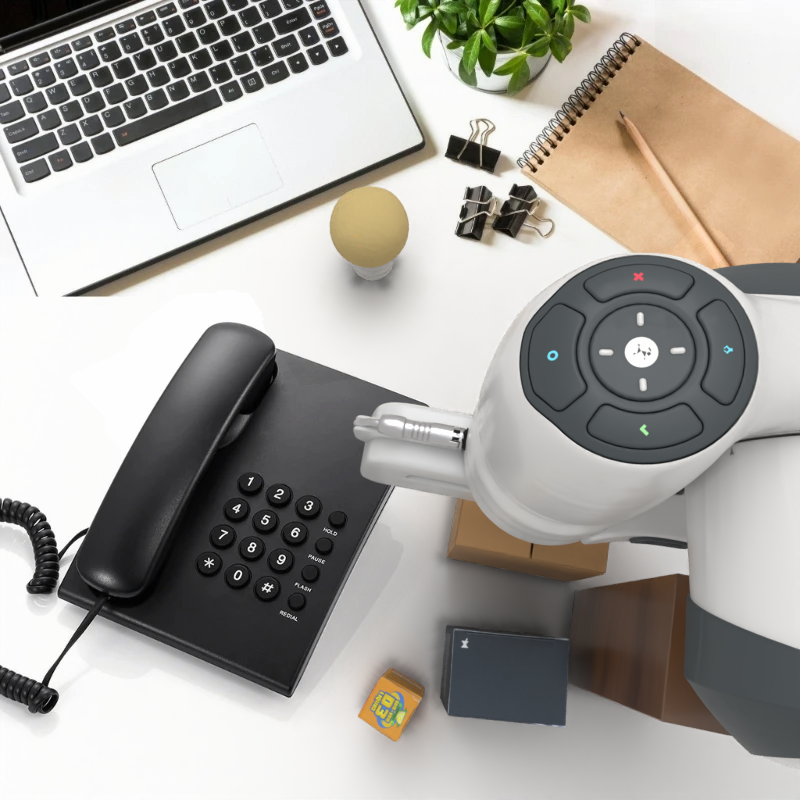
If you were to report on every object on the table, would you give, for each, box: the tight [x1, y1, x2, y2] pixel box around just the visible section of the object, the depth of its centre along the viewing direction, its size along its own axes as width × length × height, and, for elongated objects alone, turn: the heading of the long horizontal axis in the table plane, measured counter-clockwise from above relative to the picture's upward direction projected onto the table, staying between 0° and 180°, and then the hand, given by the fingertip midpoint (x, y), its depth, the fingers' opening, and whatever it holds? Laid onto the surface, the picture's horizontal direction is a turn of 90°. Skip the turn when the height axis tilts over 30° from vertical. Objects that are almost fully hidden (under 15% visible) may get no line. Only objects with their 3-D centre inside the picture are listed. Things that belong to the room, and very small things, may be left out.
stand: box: [568, 572, 732, 737], centre depth 51 cm, size 7×7×25 cm
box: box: [439, 624, 570, 728], centre depth 57 cm, size 8×6×11 cm
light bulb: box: [329, 185, 410, 281], centre depth 66 cm, size 6×6×10 cm
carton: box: [446, 498, 610, 583], centre depth 59 cm, size 10×8×12 cm
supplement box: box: [357, 667, 425, 743], centre depth 57 cm, size 3×3×10 cm
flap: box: [456, 500, 531, 558], centre depth 54 cm, size 5×8×1 cm, turn 169°
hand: (517, 494), depth 53 cm, fingers closed, pressing on flap
